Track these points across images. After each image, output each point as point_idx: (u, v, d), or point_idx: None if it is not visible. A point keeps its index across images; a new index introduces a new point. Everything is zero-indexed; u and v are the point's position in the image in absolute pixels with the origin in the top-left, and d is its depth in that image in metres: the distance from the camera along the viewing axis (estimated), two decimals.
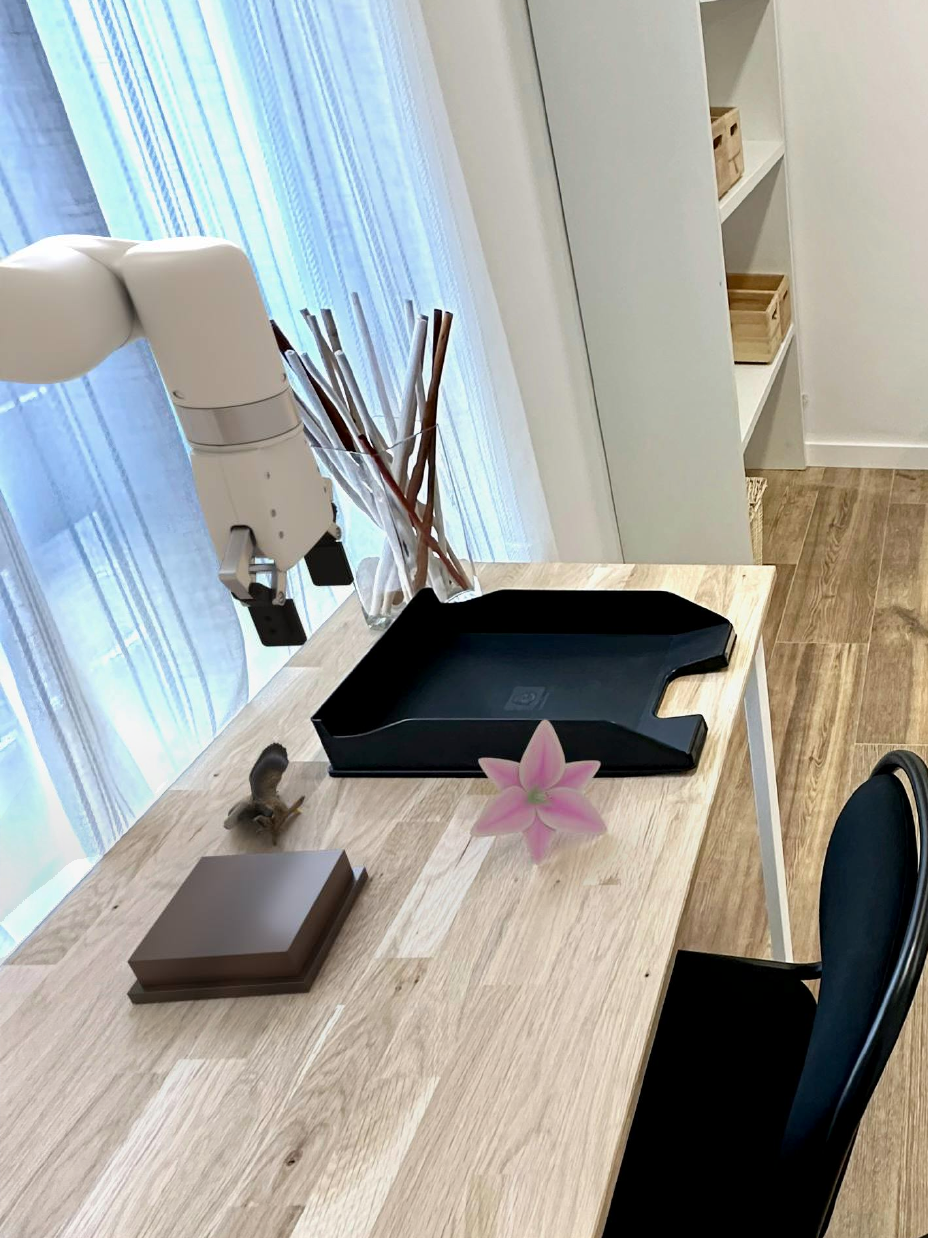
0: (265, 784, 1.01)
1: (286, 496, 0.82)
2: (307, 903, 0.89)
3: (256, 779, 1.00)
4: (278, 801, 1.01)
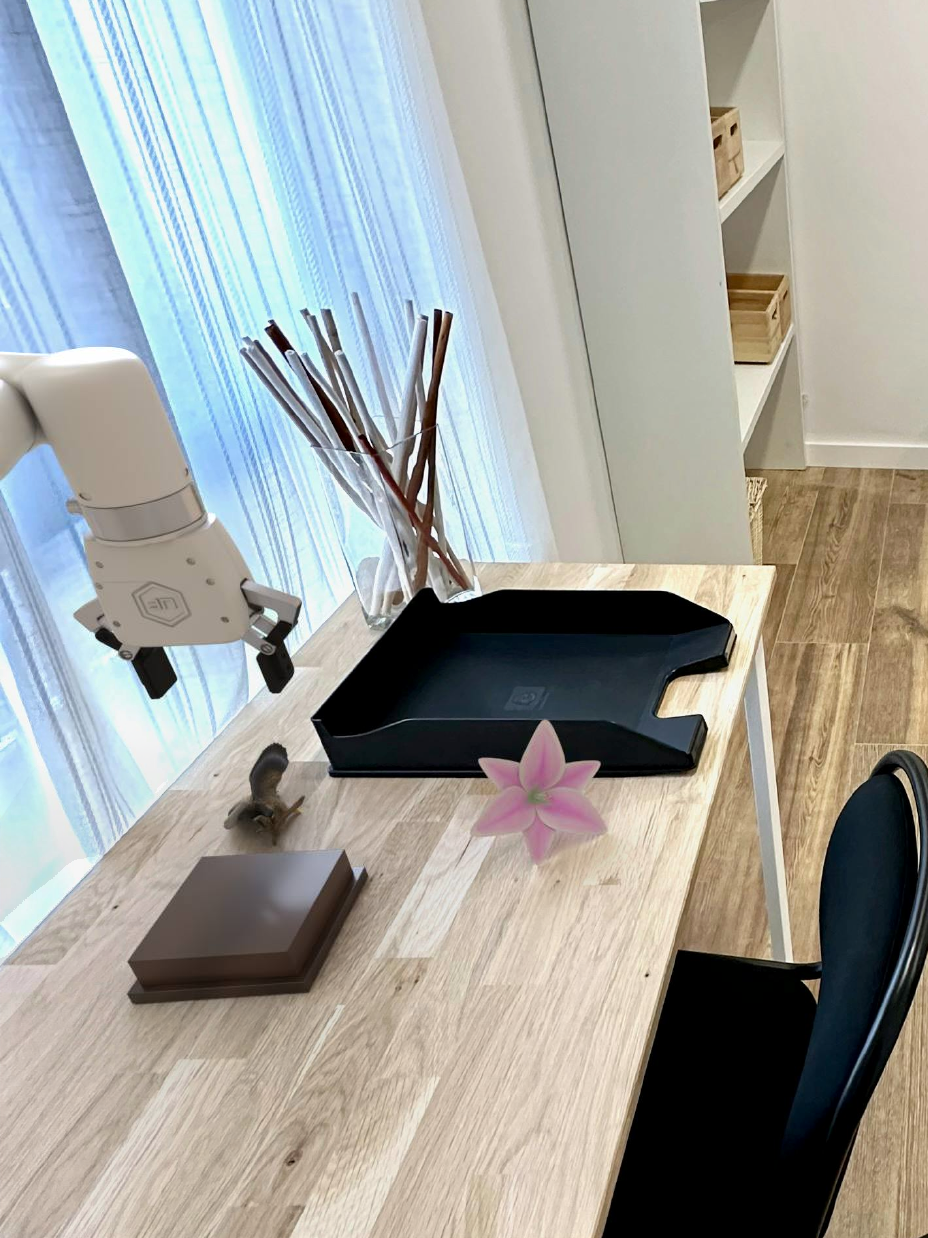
0: (265, 784, 1.01)
1: None
2: (307, 903, 0.89)
3: (256, 779, 1.00)
4: (278, 801, 1.01)
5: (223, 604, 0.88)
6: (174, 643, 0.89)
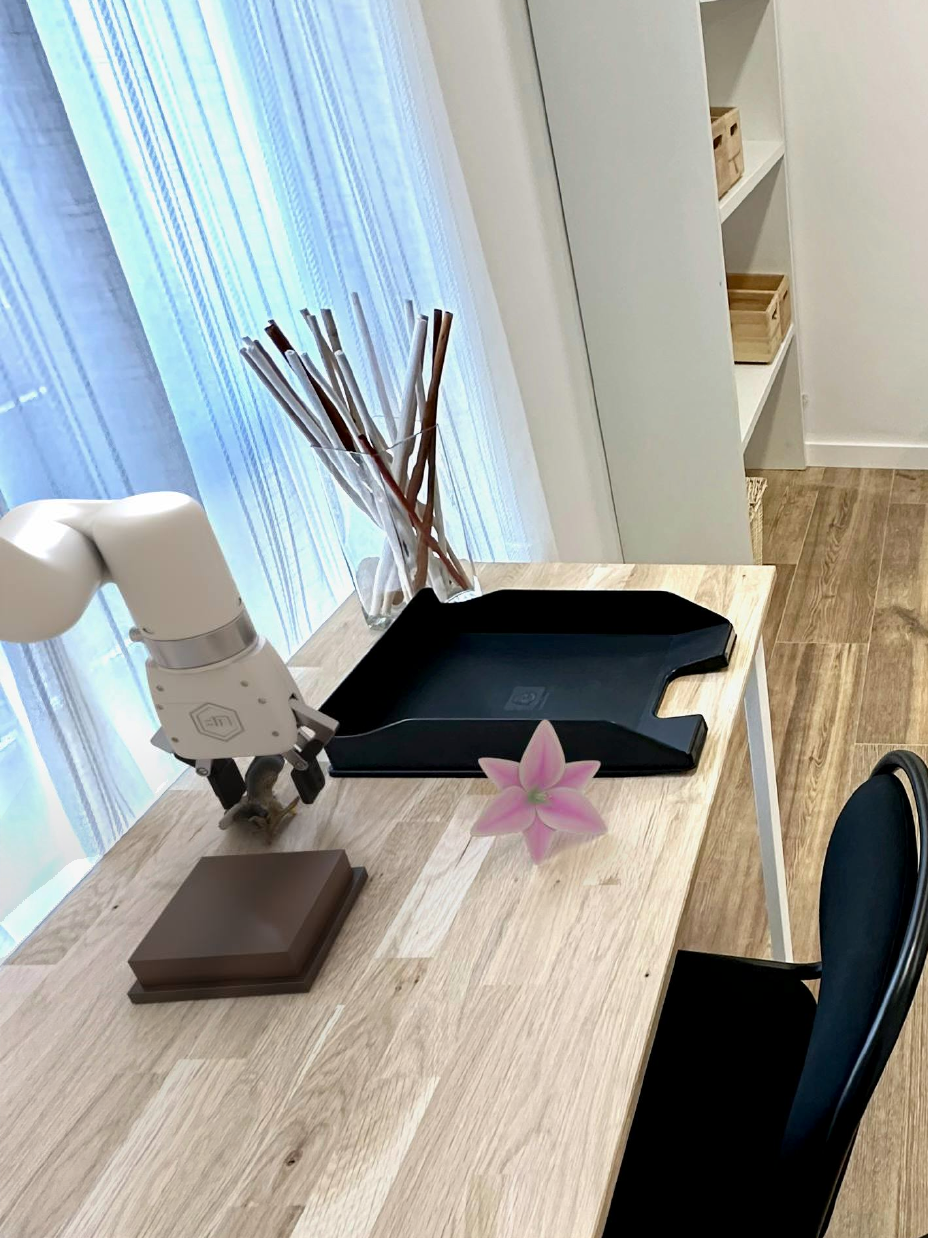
0: (261, 785, 1.01)
1: None
2: (307, 903, 0.89)
3: (252, 780, 1.00)
4: (274, 801, 1.01)
5: (274, 720, 0.94)
6: (228, 755, 0.95)
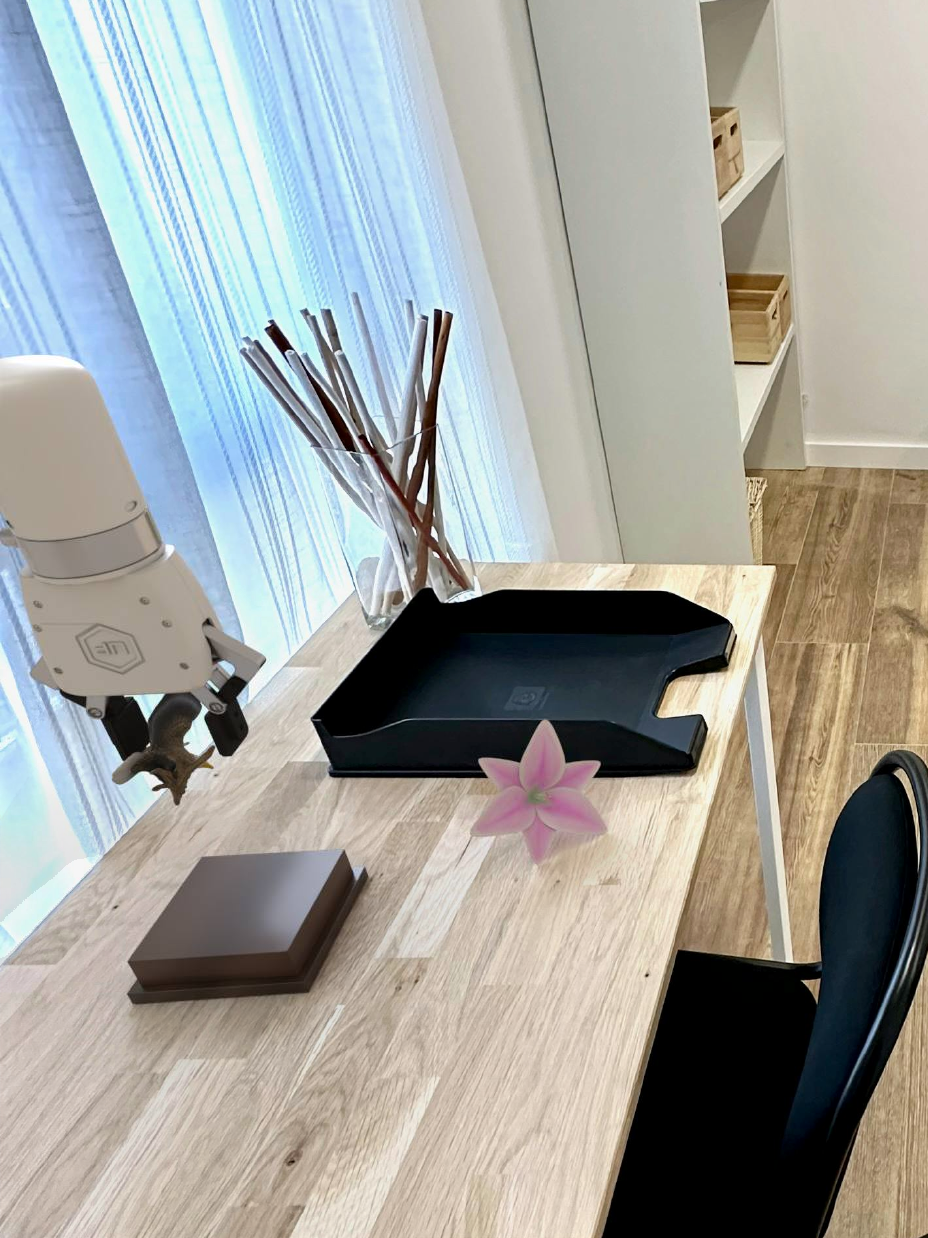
0: (169, 732, 0.84)
1: None
2: (307, 903, 0.89)
3: (157, 725, 0.83)
4: (184, 753, 0.84)
5: (182, 649, 0.77)
6: (125, 692, 0.78)
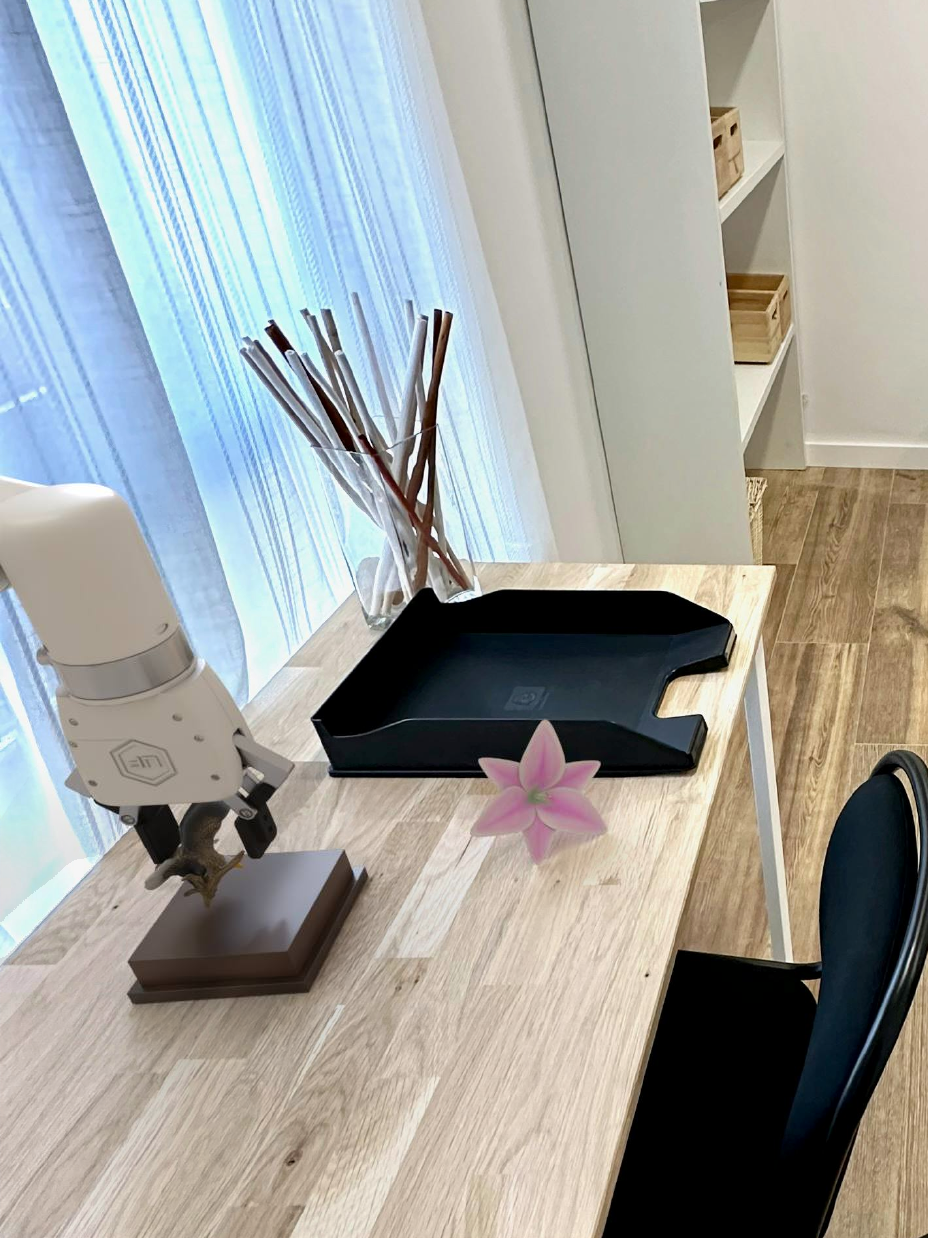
0: (199, 834, 0.85)
1: None
2: (307, 903, 0.89)
3: (188, 829, 0.84)
4: (214, 855, 0.85)
5: (213, 761, 0.78)
6: (158, 802, 0.79)
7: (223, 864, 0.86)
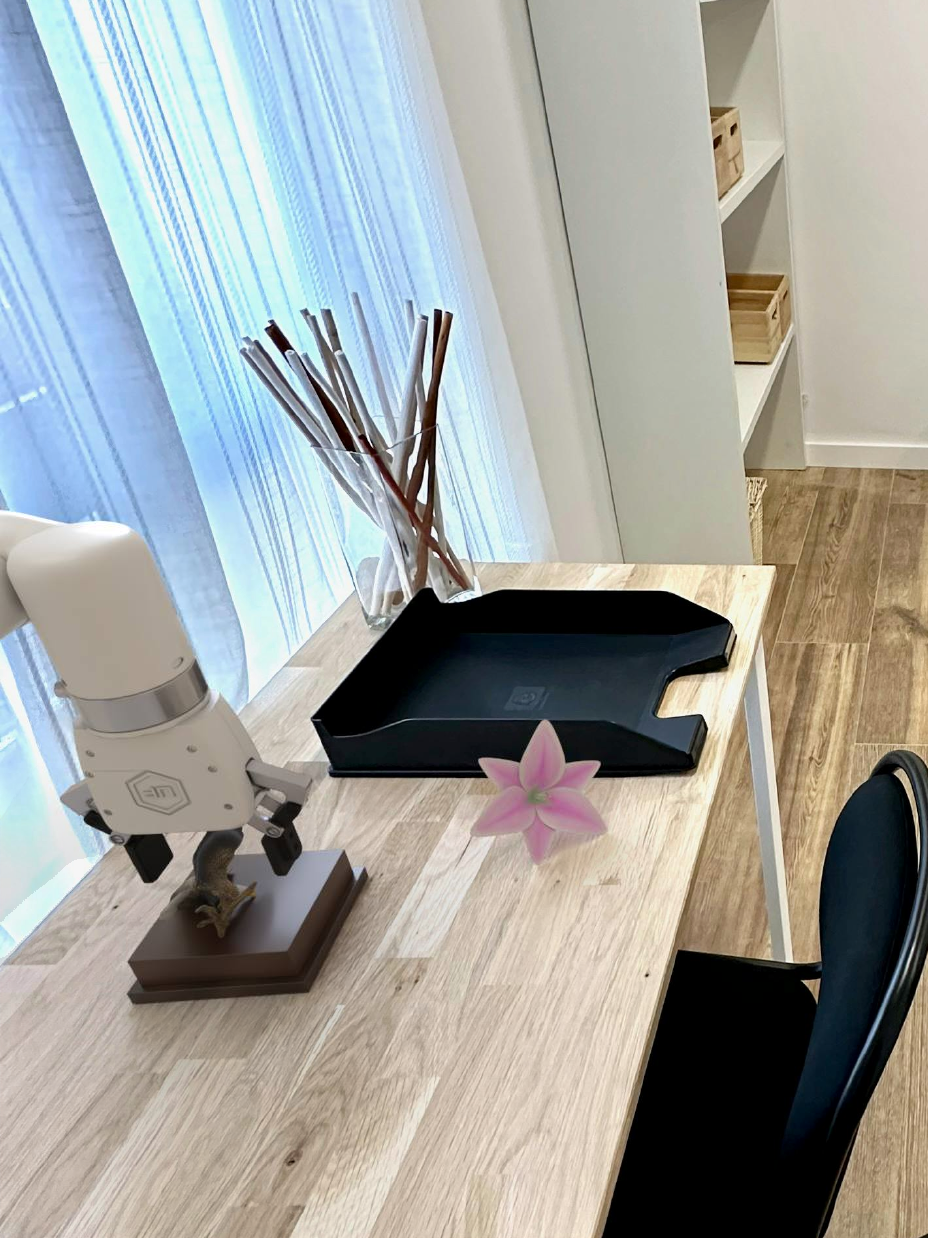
0: (213, 865, 0.87)
1: None
2: (307, 903, 0.89)
3: (202, 860, 0.86)
4: (228, 885, 0.87)
5: (226, 791, 0.80)
6: (171, 831, 0.81)
7: (236, 894, 0.87)
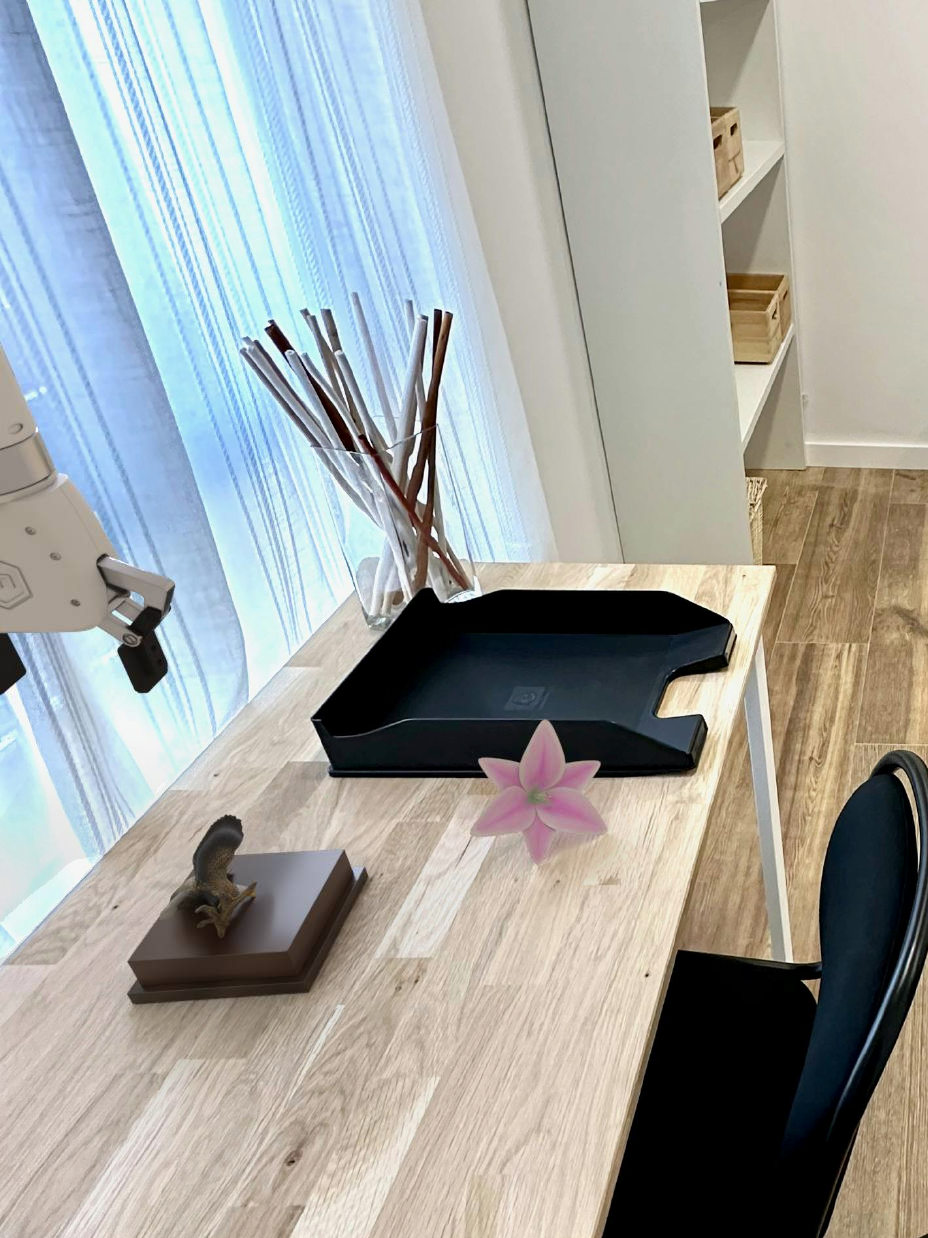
0: (213, 865, 0.87)
1: None
2: (307, 903, 0.89)
3: (202, 860, 0.86)
4: (228, 885, 0.87)
5: (72, 584, 0.72)
6: (13, 629, 0.73)
7: (236, 894, 0.87)
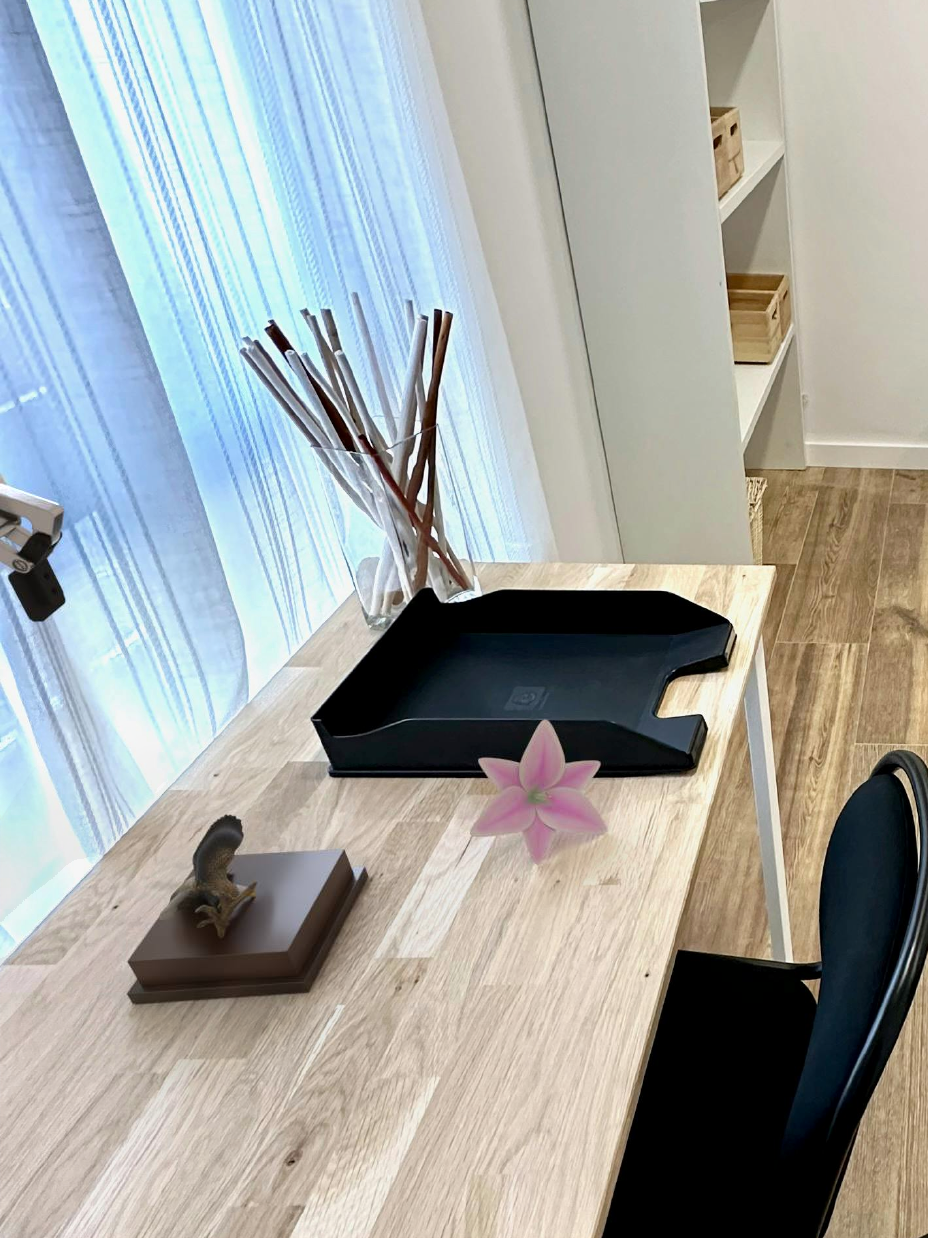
0: (213, 865, 0.87)
1: None
2: (307, 903, 0.89)
3: (202, 860, 0.86)
4: (228, 885, 0.87)
5: None
6: None
7: (236, 894, 0.87)
